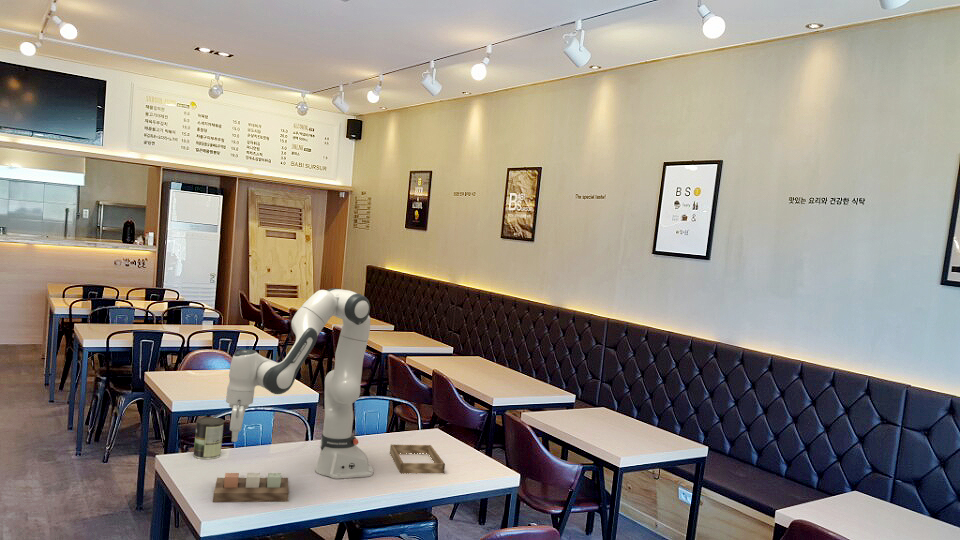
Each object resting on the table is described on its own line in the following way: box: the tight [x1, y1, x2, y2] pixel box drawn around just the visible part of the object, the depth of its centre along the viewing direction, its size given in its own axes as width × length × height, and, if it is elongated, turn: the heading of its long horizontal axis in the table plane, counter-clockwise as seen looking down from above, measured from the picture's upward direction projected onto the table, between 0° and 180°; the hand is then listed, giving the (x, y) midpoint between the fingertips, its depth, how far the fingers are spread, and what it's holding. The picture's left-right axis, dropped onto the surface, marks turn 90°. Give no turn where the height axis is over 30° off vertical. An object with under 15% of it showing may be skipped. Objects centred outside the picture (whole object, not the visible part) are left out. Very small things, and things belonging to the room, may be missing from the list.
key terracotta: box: [224, 472, 240, 488], centre depth 233 cm, size 4×4×4 cm
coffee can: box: [192, 416, 225, 460], centre depth 270 cm, size 10×10×14 cm
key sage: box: [266, 472, 282, 488], centre depth 238 cm, size 4×4×4 cm
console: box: [212, 477, 290, 503], centre depth 236 cm, size 24×15×3 cm, turn 107°
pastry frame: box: [389, 444, 446, 475], centre depth 287 cm, size 18×26×4 cm
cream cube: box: [245, 472, 261, 488], centre depth 236 cm, size 4×4×4 cm
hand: (235, 437), depth 234 cm, fingers open, 8 cm apart
